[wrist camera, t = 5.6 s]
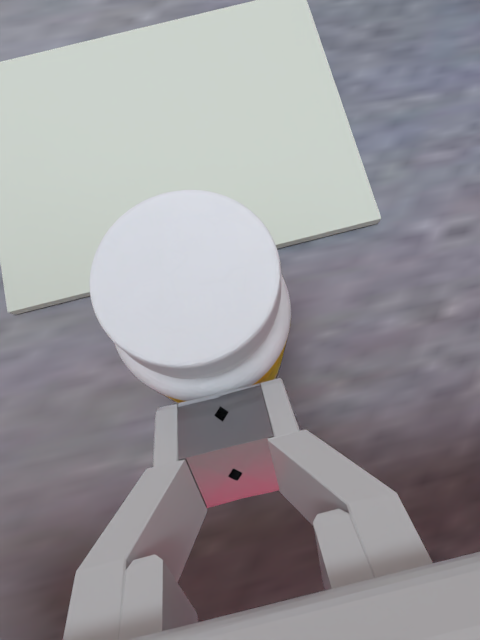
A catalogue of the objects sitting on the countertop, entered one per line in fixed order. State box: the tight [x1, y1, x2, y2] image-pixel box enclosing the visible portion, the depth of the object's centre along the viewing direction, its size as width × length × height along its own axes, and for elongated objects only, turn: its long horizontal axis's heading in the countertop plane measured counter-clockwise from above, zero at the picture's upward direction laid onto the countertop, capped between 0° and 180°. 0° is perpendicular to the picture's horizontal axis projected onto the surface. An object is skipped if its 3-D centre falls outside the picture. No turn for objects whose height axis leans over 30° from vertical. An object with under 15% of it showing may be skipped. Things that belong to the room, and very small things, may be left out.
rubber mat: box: [0, 0, 381, 315], centre depth 18 cm, size 16×12×1 cm
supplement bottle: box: [89, 190, 291, 403], centre depth 12 cm, size 5×5×8 cm
